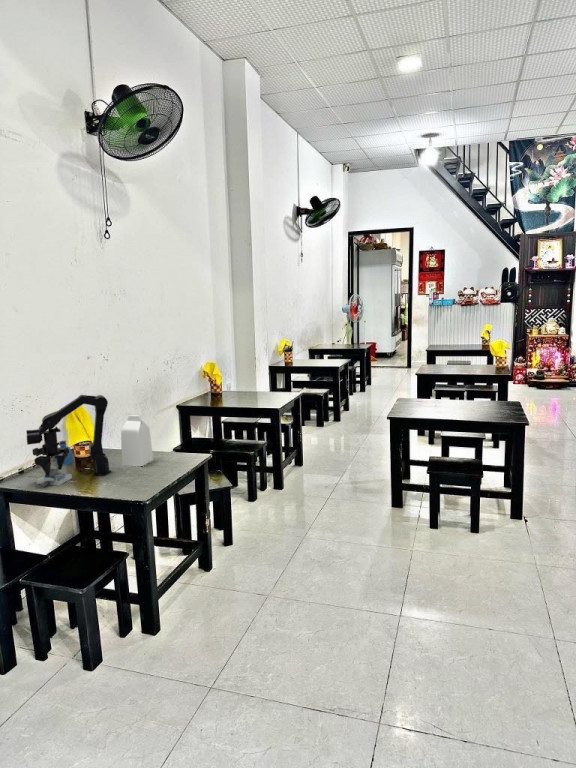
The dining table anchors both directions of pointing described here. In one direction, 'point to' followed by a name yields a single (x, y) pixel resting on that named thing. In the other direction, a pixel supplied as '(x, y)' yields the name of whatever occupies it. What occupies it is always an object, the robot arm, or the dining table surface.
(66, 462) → the perfume bottle
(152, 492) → the dining table surface
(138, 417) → the milk
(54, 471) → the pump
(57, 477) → the motor block
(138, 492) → the dining table surface
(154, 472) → the dining table surface
